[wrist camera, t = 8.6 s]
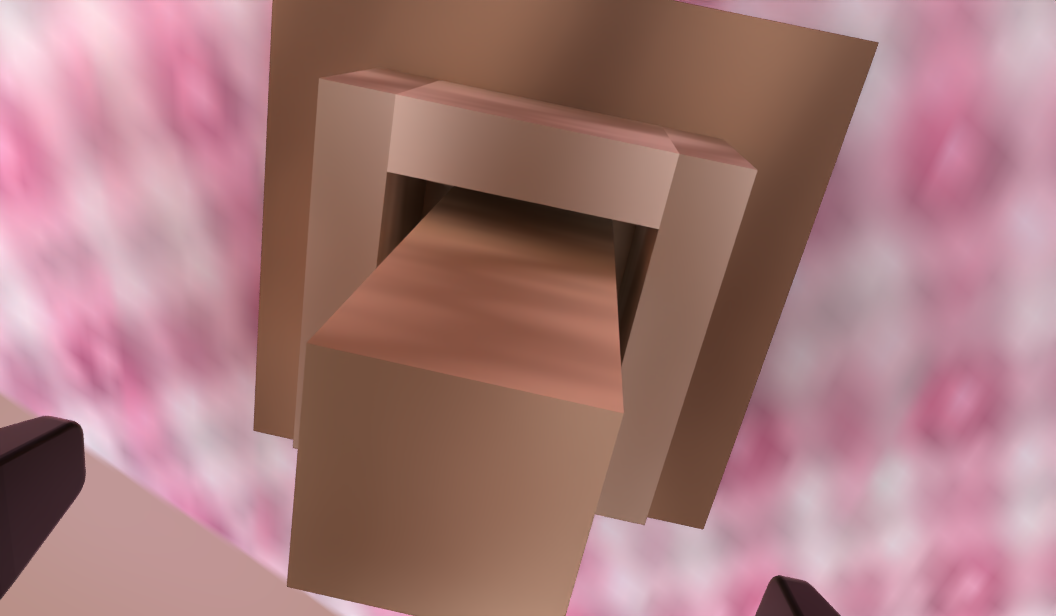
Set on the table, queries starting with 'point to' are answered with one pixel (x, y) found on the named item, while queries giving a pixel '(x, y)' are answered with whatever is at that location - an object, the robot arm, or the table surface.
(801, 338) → the table surface
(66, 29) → the table surface
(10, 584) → the robot arm
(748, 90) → the well
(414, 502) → the peg
